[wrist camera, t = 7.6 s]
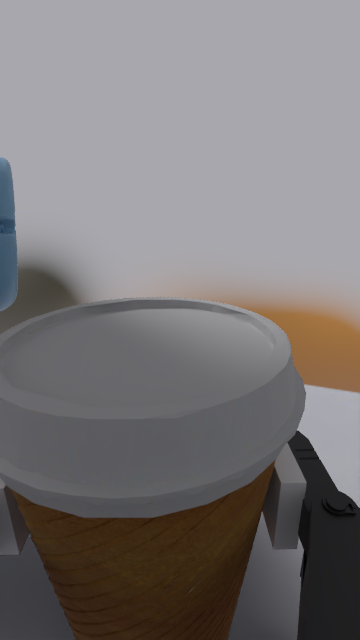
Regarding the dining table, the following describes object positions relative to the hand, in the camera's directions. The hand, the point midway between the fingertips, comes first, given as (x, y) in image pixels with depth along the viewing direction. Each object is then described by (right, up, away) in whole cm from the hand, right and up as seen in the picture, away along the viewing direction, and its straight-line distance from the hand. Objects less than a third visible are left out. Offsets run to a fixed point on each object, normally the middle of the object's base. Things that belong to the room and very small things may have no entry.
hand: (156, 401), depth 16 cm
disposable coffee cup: (0, -8, -2) cm, 8 cm away
